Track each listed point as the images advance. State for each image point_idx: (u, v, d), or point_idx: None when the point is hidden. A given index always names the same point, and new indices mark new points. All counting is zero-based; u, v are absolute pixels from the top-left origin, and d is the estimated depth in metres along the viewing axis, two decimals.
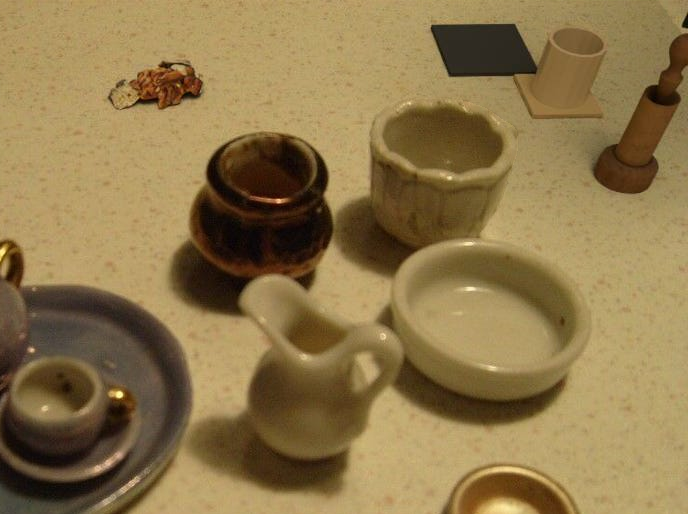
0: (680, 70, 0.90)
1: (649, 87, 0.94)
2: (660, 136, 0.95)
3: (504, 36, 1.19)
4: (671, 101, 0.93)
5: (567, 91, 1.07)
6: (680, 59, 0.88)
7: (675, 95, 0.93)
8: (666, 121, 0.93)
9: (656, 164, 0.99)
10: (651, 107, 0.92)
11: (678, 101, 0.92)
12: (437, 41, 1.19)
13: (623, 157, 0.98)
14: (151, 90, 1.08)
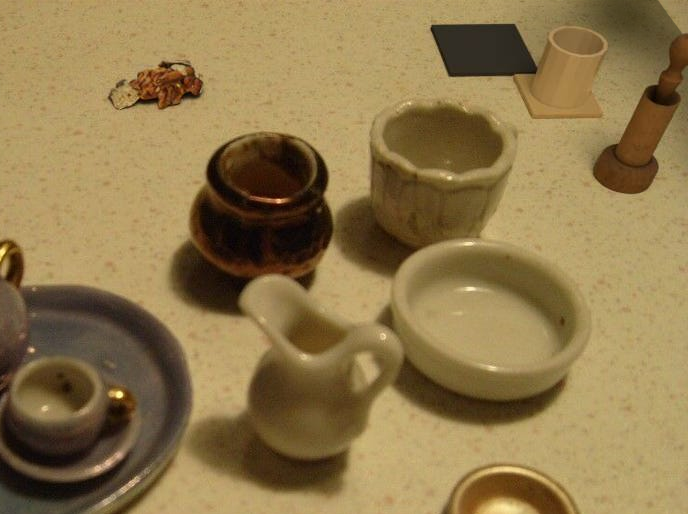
0: (680, 70, 0.90)
1: (649, 87, 0.94)
2: (660, 136, 0.95)
3: (504, 36, 1.19)
4: (671, 101, 0.93)
5: (567, 91, 1.07)
6: (680, 59, 0.88)
7: (675, 95, 0.93)
8: (666, 121, 0.93)
9: (656, 164, 0.99)
10: (651, 107, 0.92)
11: (678, 101, 0.92)
12: (437, 41, 1.19)
13: (623, 157, 0.98)
14: (151, 90, 1.08)
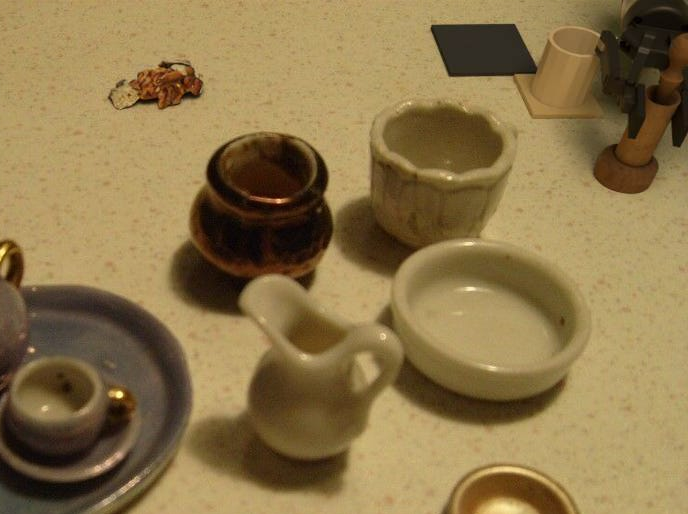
0: (680, 70, 0.90)
1: (649, 87, 0.94)
2: (660, 136, 0.95)
3: (504, 36, 1.19)
4: (671, 101, 0.93)
5: (567, 91, 1.07)
6: (680, 59, 0.88)
7: (675, 95, 0.93)
8: (666, 121, 0.93)
9: (656, 164, 0.99)
10: (651, 107, 0.92)
11: (678, 101, 0.92)
12: (437, 41, 1.19)
13: (623, 157, 0.98)
14: (151, 90, 1.08)
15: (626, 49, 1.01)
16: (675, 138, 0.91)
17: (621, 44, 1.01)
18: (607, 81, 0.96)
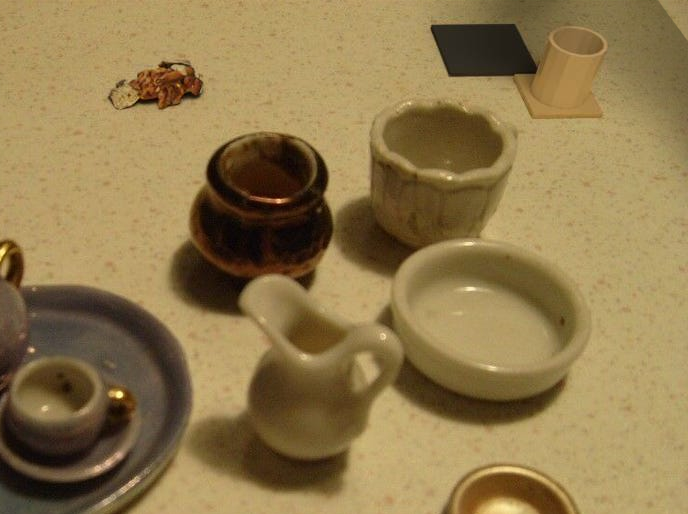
0: None
1: None
2: None
3: (504, 36, 1.19)
4: None
5: (567, 91, 1.07)
6: None
7: None
8: None
9: None
10: None
11: None
12: (437, 41, 1.19)
13: None
14: (151, 90, 1.08)
15: None
16: None
17: None
18: None
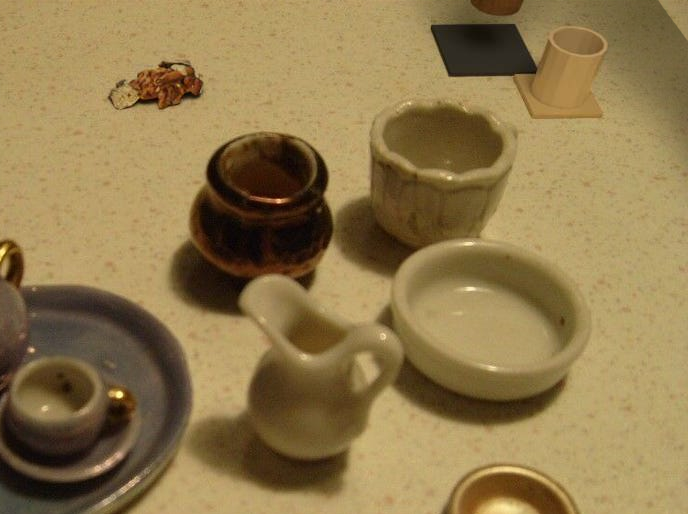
0: None
1: None
2: None
3: (504, 36, 1.19)
4: None
5: (567, 91, 1.07)
6: None
7: None
8: None
9: None
10: None
11: None
12: (437, 41, 1.19)
13: None
14: (151, 90, 1.08)
15: None
16: None
17: None
18: None
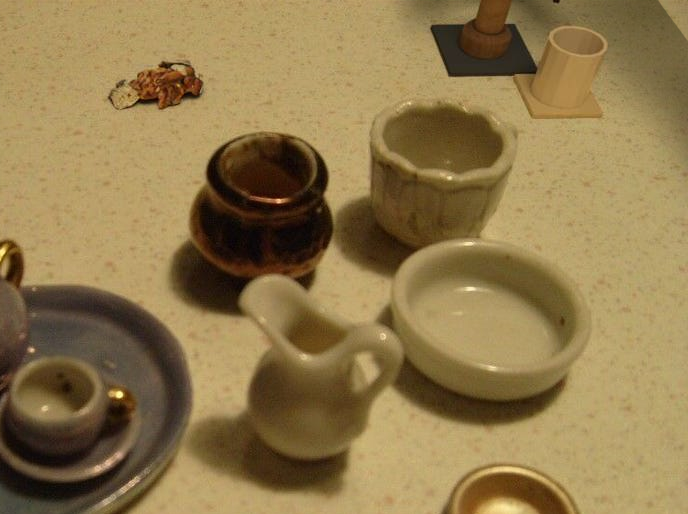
0: None
1: None
2: (507, 5, 1.11)
3: None
4: None
5: (567, 91, 1.07)
6: None
7: None
8: None
9: (509, 33, 1.15)
10: None
11: None
12: (437, 41, 1.19)
13: (479, 26, 1.14)
14: (151, 90, 1.08)
15: None
16: None
17: None
18: None
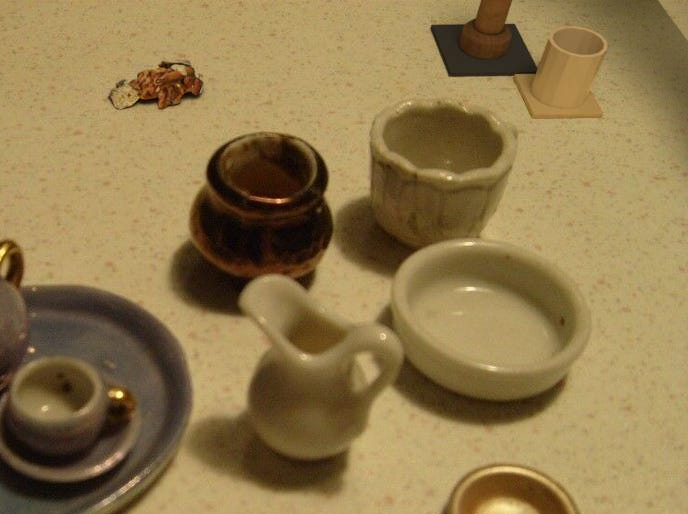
0: None
1: None
2: (507, 5, 1.11)
3: None
4: None
5: (567, 91, 1.07)
6: None
7: None
8: None
9: (509, 33, 1.15)
10: None
11: None
12: (437, 41, 1.19)
13: (479, 26, 1.14)
14: (151, 90, 1.08)
15: None
16: None
17: None
18: None
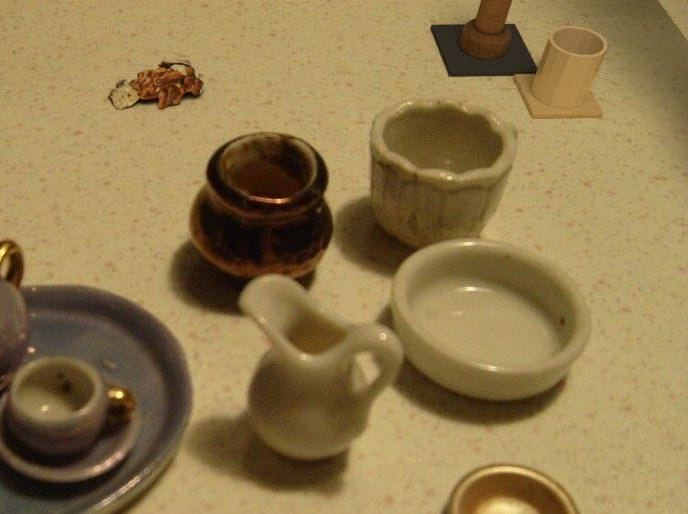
0: None
1: None
2: (507, 5, 1.11)
3: None
4: None
5: (567, 91, 1.07)
6: None
7: None
8: None
9: (509, 33, 1.15)
10: None
11: None
12: (437, 41, 1.19)
13: (479, 26, 1.14)
14: (151, 90, 1.08)
15: None
16: None
17: None
18: None
